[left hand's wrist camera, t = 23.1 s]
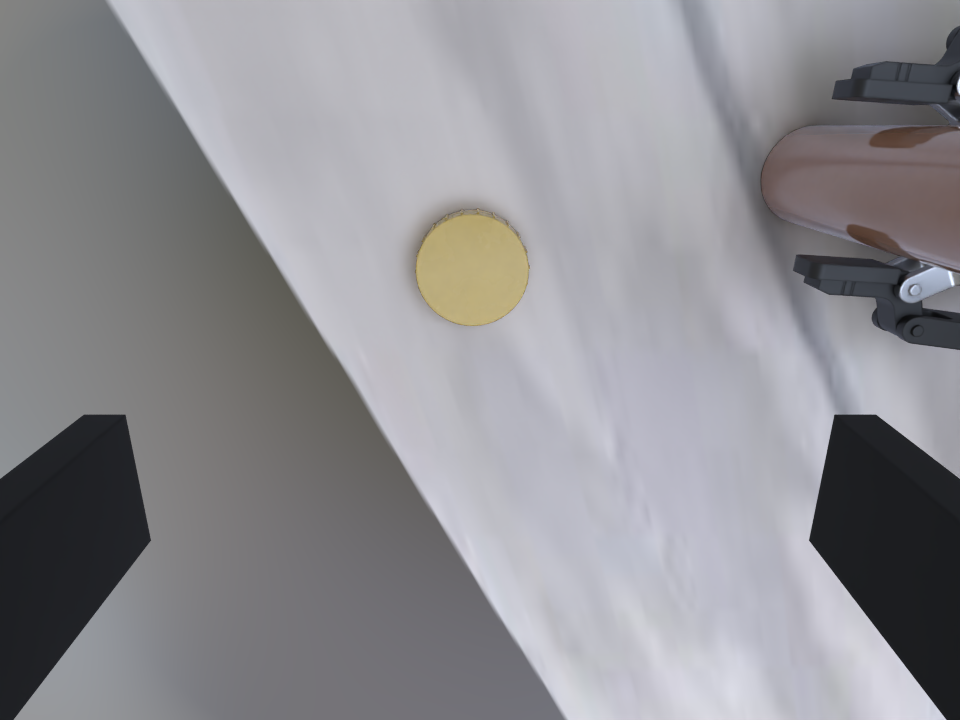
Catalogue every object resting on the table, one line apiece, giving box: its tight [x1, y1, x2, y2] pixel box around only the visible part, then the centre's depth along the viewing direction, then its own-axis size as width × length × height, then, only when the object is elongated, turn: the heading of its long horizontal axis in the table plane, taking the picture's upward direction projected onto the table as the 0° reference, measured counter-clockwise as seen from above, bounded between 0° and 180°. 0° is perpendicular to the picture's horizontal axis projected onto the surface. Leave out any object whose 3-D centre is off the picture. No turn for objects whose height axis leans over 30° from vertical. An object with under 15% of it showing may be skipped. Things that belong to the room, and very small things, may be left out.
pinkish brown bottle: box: [761, 125, 960, 275], centre depth 25 cm, size 5×5×19 cm
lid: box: [415, 208, 530, 326], centre depth 35 cm, size 6×6×2 cm
